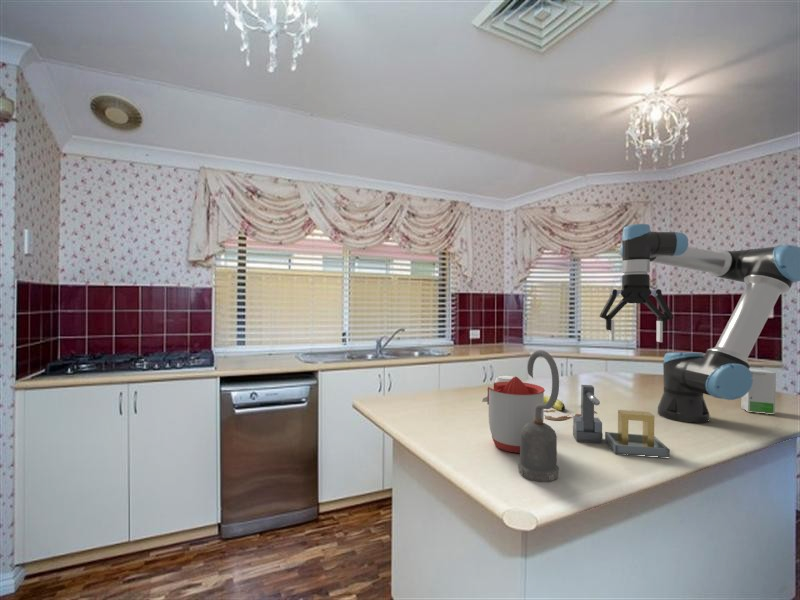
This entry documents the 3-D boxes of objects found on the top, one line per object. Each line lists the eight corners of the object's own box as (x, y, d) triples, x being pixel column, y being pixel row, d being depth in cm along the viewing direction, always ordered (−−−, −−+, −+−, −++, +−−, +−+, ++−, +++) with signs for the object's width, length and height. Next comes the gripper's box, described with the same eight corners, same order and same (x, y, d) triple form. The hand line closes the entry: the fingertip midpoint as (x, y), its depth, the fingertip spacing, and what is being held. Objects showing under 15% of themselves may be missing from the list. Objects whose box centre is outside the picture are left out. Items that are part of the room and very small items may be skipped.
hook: (538, 489, 89) (539, 354, 88) (508, 467, 100) (509, 347, 100) (575, 483, 92) (576, 352, 91) (542, 462, 103) (543, 346, 103)
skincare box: (747, 413, 148) (747, 370, 148) (740, 408, 154) (740, 367, 154) (776, 415, 145) (777, 372, 145) (767, 410, 151) (768, 369, 151)
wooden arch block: (648, 445, 113) (649, 411, 113) (654, 450, 110) (654, 415, 109) (617, 443, 115) (618, 409, 115) (621, 448, 111) (622, 413, 111)
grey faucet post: (597, 436, 122) (597, 384, 122) (610, 455, 108) (610, 396, 108) (572, 434, 124) (573, 383, 124) (582, 452, 110) (582, 394, 110)
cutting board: (609, 414, 147) (609, 404, 147) (554, 424, 135) (554, 413, 135) (539, 393, 179) (539, 385, 178) (489, 400, 167) (489, 391, 167)
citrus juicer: (491, 432, 126) (491, 369, 126) (549, 442, 117) (549, 374, 117) (473, 448, 112) (474, 377, 112) (538, 461, 104) (538, 384, 103)
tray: (654, 444, 116) (654, 435, 116) (669, 459, 106) (669, 449, 106) (605, 440, 119) (605, 431, 119) (615, 454, 109) (615, 445, 109)
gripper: (675, 274, 127) (674, 341, 127) (590, 275, 133) (589, 338, 133) (686, 272, 120) (685, 343, 120) (595, 273, 126) (595, 341, 126)
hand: (635, 341), depth 127 cm, fingers open, 13 cm apart
